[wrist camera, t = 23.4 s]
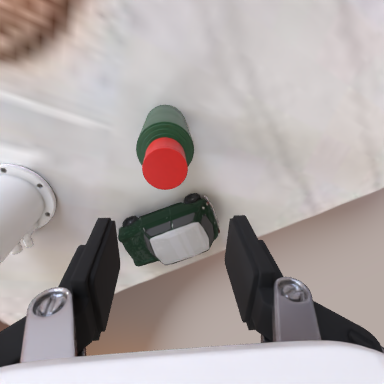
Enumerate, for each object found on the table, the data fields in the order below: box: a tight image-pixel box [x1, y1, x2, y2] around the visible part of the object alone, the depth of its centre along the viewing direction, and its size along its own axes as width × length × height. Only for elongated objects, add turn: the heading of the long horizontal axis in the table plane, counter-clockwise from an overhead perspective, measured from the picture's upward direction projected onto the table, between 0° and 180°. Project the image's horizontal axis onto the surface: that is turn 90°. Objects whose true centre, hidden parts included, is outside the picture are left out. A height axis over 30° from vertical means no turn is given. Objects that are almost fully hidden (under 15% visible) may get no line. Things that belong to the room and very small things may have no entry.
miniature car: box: [118, 193, 220, 266], centre depth 43 cm, size 9×18×8 cm, turn 110°
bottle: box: [136, 105, 194, 167], centre depth 31 cm, size 6×6×18 cm
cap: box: [142, 137, 188, 190], centre depth 24 cm, size 4×4×4 cm
